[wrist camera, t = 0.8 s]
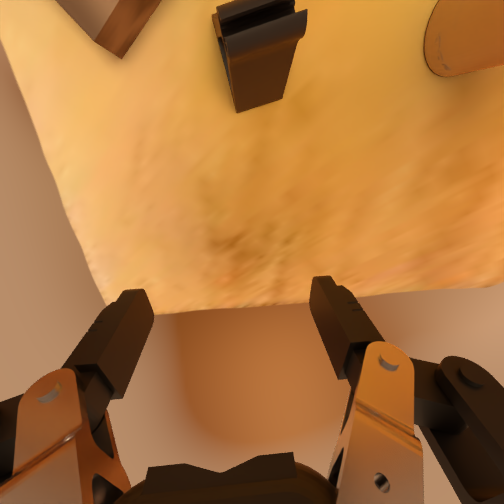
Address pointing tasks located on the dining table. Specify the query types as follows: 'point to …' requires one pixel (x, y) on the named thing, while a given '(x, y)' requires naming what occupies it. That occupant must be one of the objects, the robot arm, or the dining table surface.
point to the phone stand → (258, 47)
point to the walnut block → (111, 20)
